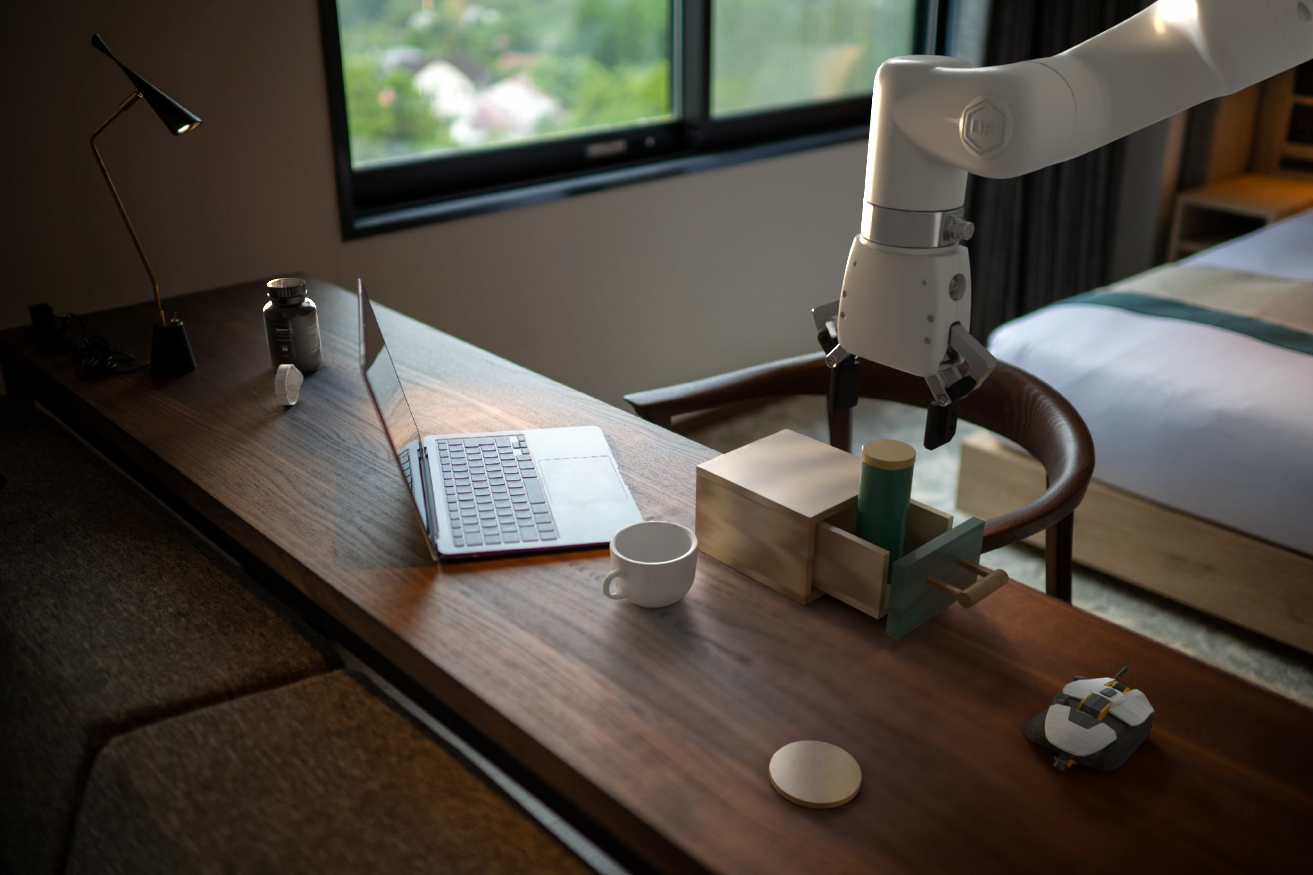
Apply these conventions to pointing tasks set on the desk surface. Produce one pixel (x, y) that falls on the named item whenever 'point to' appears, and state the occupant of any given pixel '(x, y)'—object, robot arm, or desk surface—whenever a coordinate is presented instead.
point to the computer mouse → (1093, 723)
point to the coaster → (815, 774)
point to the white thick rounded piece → (287, 384)
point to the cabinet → (773, 507)
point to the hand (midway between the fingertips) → (888, 426)
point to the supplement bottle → (292, 327)
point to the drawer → (904, 567)
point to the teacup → (652, 563)
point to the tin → (885, 496)
